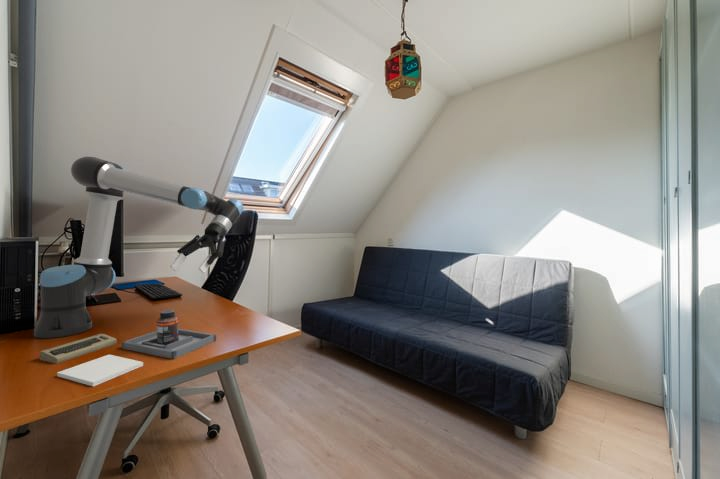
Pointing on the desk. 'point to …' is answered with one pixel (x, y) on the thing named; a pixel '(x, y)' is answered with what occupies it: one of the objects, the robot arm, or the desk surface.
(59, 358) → the computer
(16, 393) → the desk surface
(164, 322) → the supplement bottle
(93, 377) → the white mat
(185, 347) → the grey rectangular frame tray
